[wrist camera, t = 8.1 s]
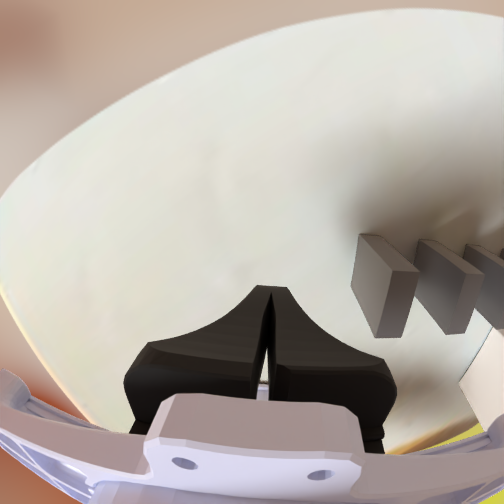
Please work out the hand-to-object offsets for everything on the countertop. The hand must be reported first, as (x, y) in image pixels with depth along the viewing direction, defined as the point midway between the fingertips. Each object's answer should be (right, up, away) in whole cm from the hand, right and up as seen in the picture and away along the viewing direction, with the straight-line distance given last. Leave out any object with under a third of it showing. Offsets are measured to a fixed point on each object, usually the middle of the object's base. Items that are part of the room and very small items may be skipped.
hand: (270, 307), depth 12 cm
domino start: (+7, +2, +6) cm, 9 cm away
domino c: (+16, +1, +5) cm, 16 cm away
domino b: (+11, +1, +5) cm, 12 cm away
